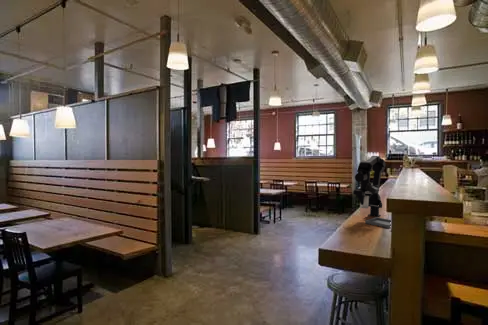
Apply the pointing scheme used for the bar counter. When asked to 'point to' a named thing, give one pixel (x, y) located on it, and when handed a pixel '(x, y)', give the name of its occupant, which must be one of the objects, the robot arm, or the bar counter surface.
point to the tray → (379, 222)
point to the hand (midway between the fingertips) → (364, 204)
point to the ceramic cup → (365, 202)
